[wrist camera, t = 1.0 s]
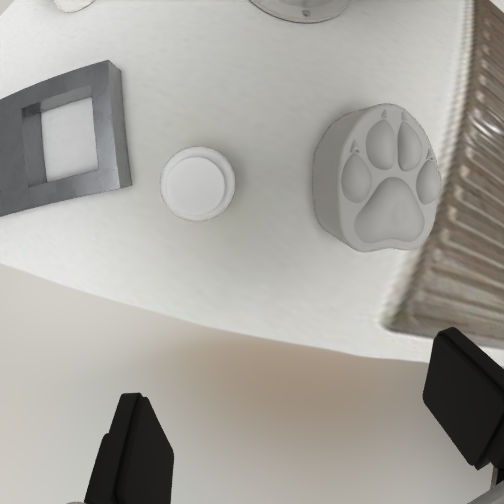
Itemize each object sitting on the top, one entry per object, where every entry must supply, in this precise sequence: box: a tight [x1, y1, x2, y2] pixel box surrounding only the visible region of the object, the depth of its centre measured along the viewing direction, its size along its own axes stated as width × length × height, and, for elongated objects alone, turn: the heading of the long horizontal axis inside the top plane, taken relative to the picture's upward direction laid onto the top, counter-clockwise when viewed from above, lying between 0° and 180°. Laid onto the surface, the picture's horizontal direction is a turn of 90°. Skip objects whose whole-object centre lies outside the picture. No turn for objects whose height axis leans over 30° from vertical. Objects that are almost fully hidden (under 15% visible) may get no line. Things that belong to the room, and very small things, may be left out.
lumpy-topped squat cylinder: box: [313, 103, 441, 252], centre depth 28 cm, size 10×13×9 cm
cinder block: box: [0, 60, 132, 217], centre depth 25 cm, size 12×24×4 cm, turn 96°
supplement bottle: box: [160, 146, 235, 221], centre depth 25 cm, size 6×6×10 cm
